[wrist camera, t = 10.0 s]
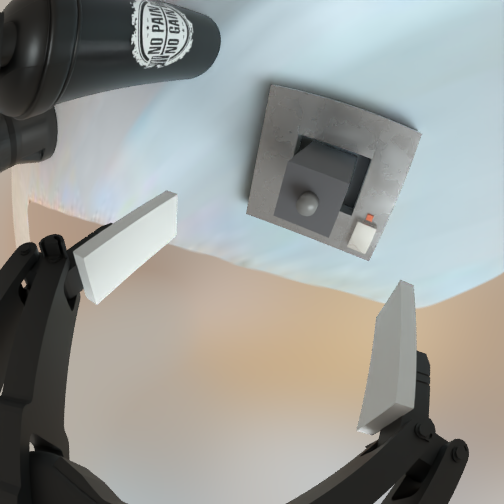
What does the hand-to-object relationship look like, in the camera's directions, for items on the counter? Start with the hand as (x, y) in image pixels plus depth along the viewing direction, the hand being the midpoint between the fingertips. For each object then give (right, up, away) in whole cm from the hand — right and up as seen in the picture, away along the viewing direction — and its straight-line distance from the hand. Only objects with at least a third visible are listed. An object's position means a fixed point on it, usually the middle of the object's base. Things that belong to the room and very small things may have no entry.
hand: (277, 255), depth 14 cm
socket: (+6, +8, +13) cm, 16 cm away
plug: (+6, +8, +13) cm, 16 cm away
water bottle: (-8, +23, +11) cm, 27 cm away
